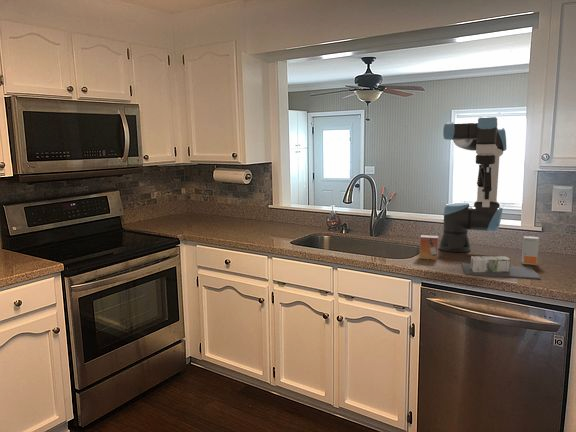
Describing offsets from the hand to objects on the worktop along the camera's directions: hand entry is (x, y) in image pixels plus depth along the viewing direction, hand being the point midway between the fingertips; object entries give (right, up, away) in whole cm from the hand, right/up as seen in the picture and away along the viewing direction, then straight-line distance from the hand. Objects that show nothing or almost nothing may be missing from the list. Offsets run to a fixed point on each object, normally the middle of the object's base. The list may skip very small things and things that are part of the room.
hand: (482, 204), depth 201 cm
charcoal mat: (+5, -28, -5) cm, 29 cm away
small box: (-18, -25, +19) cm, 36 cm away
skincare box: (+24, -26, +8) cm, 36 cm away
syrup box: (+8, -25, -7) cm, 27 cm away
